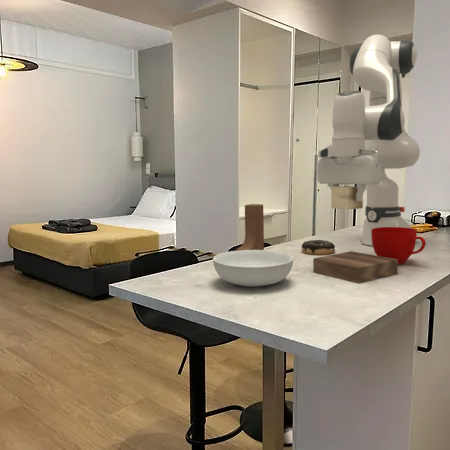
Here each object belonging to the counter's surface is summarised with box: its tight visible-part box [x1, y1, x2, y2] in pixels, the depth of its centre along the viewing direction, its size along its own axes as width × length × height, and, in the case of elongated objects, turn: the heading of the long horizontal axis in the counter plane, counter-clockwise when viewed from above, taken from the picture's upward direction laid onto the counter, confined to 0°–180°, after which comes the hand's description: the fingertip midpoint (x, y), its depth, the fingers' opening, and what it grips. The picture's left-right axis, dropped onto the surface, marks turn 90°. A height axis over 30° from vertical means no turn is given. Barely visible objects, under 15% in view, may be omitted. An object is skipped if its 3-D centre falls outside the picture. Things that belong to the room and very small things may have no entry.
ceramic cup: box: [371, 227, 427, 265], centre depth 136 cm, size 13×17×10 cm
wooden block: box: [236, 203, 265, 251], centre depth 144 cm, size 9×4×18 cm, turn 138°
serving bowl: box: [212, 249, 294, 288], centre depth 117 cm, size 21×21×7 cm
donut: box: [301, 239, 336, 256], centre depth 156 cm, size 11×12×4 cm
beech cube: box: [331, 185, 364, 210], centre depth 126 cm, size 6×6×6 cm
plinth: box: [312, 251, 399, 284], centre depth 125 cm, size 16×16×4 cm
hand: (347, 200), depth 126 cm, fingers closed on beech cube, 6 cm apart
